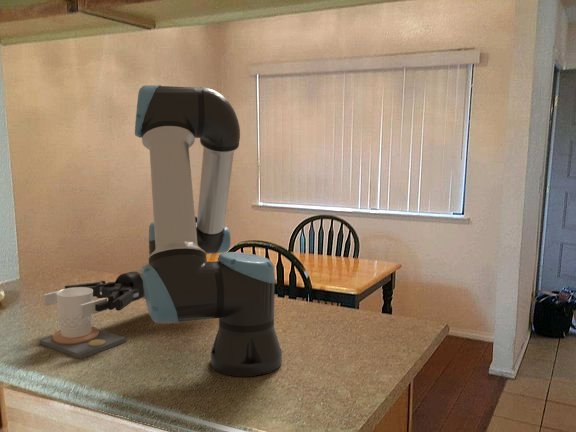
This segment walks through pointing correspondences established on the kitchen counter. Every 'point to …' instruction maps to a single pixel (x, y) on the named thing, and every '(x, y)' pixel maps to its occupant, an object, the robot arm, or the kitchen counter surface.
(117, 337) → the board
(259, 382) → the kitchen counter surface
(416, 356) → the kitchen counter surface
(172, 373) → the kitchen counter surface
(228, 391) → the kitchen counter surface
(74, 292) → the white cup
